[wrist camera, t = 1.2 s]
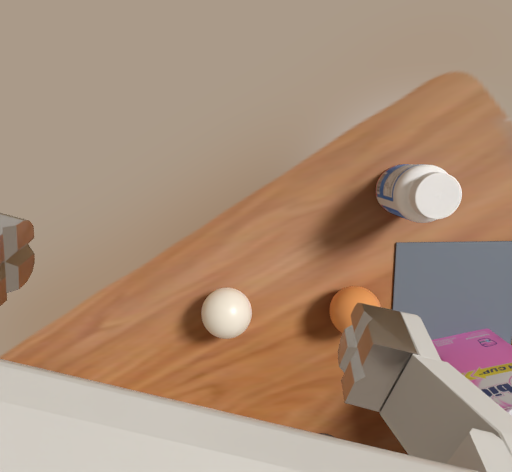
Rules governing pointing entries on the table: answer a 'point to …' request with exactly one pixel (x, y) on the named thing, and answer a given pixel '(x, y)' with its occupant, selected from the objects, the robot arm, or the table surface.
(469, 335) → the gum box
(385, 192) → the pill bottle
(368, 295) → the object ball
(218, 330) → the cue ball
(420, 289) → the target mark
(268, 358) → the table surface
